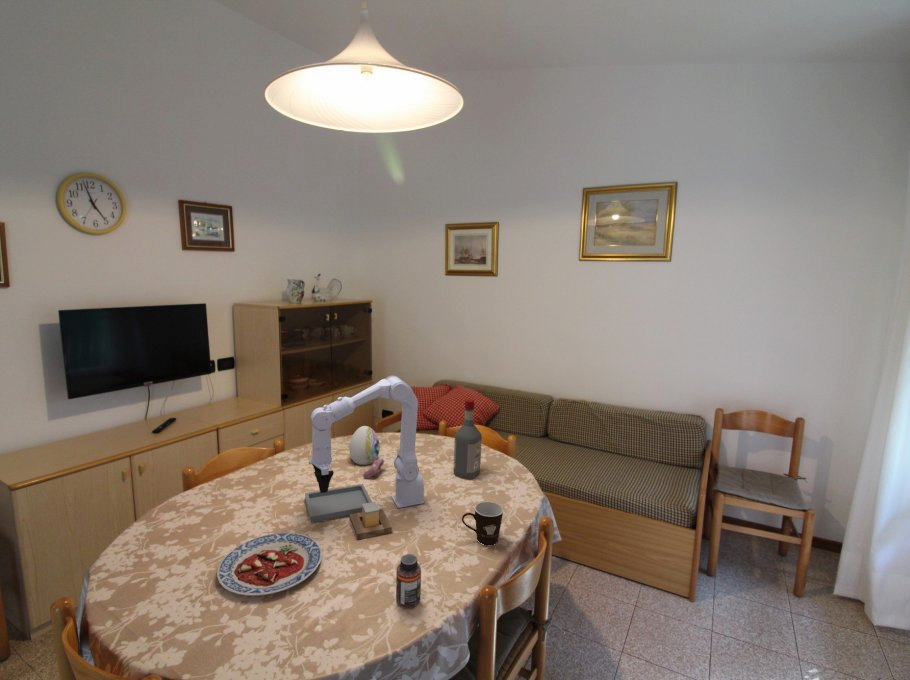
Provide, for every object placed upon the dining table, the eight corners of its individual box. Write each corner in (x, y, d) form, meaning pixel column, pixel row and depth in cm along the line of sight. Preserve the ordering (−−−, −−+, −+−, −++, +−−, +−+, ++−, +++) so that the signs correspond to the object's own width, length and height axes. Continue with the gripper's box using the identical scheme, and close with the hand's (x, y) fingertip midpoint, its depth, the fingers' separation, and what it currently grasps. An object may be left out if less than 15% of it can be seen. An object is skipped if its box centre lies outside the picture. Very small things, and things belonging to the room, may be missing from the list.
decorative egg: (376, 468, 184) (376, 432, 182) (346, 466, 184) (346, 431, 182) (381, 455, 196) (382, 421, 194) (353, 454, 196) (353, 420, 194)
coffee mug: (504, 535, 141) (506, 504, 140) (497, 550, 133) (499, 519, 132) (468, 526, 145) (469, 497, 143) (459, 541, 137) (461, 510, 135)
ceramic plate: (259, 618, 105) (258, 607, 105) (196, 576, 119) (196, 565, 118) (342, 560, 127) (342, 550, 126) (281, 529, 140) (281, 520, 140)
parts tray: (362, 489, 166) (362, 483, 166) (373, 511, 152) (373, 505, 151) (305, 499, 158) (305, 493, 158) (310, 523, 144) (310, 516, 143)
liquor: (482, 472, 183) (485, 400, 178) (470, 481, 176) (474, 405, 171) (462, 466, 188) (465, 395, 183) (450, 474, 180) (453, 401, 176)
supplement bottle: (396, 592, 115) (397, 551, 113) (420, 591, 115) (421, 550, 114) (395, 610, 109) (396, 566, 107) (420, 609, 110) (421, 566, 108)
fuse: (374, 520, 147) (375, 501, 145) (379, 529, 142) (379, 509, 141) (361, 523, 145) (361, 504, 144) (365, 532, 140) (365, 512, 139)
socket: (382, 513, 151) (382, 508, 150) (392, 532, 140) (392, 527, 140) (349, 519, 146) (349, 514, 146) (357, 539, 136) (357, 534, 136)
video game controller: (371, 483, 174) (379, 469, 173) (361, 477, 175) (369, 462, 173) (380, 472, 184) (388, 458, 182) (371, 466, 184) (378, 452, 183)
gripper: (305, 439, 149) (306, 478, 151) (311, 456, 136) (311, 499, 138) (328, 436, 152) (328, 475, 154) (335, 453, 139) (335, 495, 141)
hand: (322, 486), depth 146 cm, fingers open, 7 cm apart
